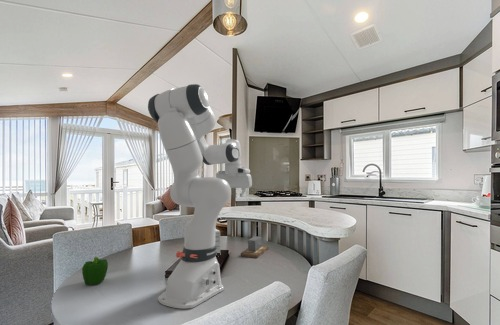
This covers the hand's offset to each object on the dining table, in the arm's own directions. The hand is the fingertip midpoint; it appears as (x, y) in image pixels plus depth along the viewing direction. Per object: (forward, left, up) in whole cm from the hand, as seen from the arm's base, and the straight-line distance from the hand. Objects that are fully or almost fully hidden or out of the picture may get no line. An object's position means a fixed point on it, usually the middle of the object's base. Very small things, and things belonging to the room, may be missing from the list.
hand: (233, 196), depth 125 cm
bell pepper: (-50, +34, -29) cm, 67 cm away
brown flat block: (+6, -9, -29) cm, 31 cm away
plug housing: (+6, -9, -28) cm, 30 cm away
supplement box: (-6, +10, -29) cm, 32 cm away
